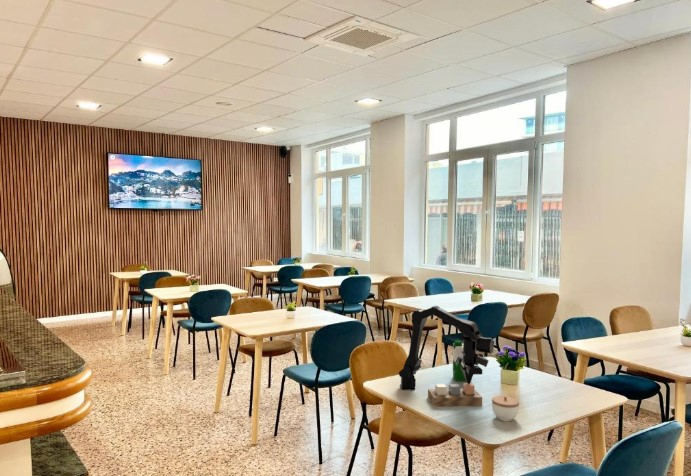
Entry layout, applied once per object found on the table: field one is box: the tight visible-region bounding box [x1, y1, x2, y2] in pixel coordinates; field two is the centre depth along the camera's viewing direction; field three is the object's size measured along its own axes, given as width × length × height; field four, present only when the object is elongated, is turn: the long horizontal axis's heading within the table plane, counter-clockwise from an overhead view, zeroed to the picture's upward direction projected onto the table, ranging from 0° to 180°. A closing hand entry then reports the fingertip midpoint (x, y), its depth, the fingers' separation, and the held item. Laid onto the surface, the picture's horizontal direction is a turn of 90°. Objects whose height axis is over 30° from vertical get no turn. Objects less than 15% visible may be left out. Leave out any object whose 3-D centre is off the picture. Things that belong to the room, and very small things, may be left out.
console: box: [427, 388, 483, 408], centre depth 222 cm, size 22×11×4 cm, turn 94°
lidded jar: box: [491, 395, 520, 422], centre depth 204 cm, size 11×11×9 cm
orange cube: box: [462, 382, 475, 395], centre depth 222 cm, size 4×4×4 cm
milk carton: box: [452, 339, 467, 382], centre depth 253 cm, size 9×9×20 cm
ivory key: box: [434, 383, 447, 395], centre depth 221 cm, size 4×4×4 cm
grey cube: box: [448, 383, 461, 395], centre depth 222 cm, size 4×4×4 cm
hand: (468, 383), depth 222 cm, fingers closed
